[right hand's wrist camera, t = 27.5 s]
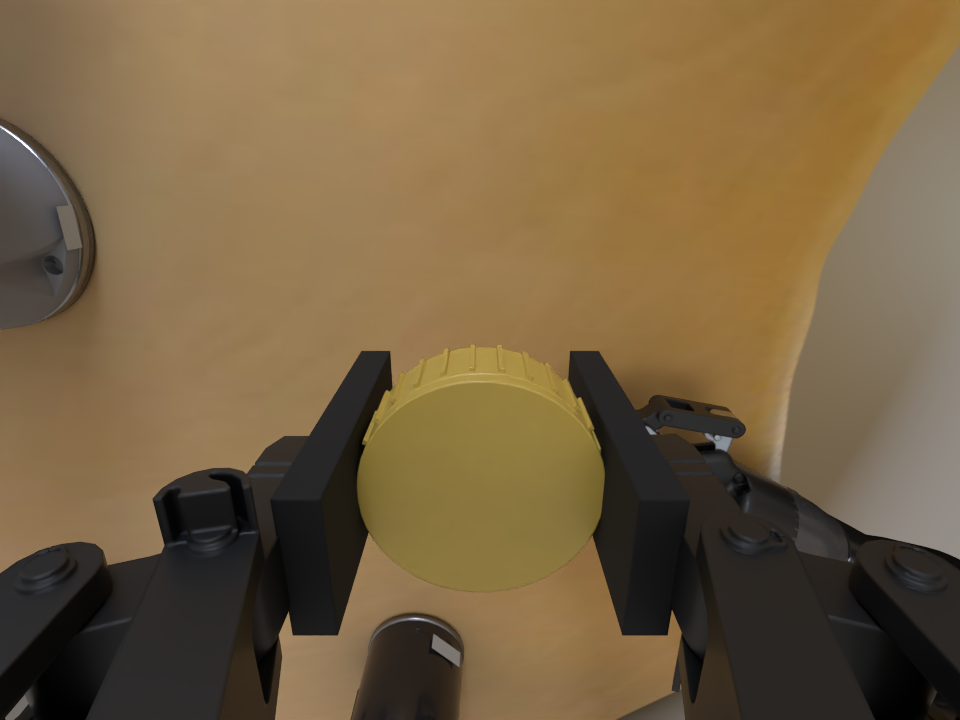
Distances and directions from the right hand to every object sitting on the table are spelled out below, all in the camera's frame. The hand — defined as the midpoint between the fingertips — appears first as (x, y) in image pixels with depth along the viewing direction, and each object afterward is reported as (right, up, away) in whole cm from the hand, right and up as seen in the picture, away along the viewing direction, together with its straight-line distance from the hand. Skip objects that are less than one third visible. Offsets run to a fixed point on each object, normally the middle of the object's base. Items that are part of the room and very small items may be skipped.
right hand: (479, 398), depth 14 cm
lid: (0, -1, -4) cm, 4 cm away
